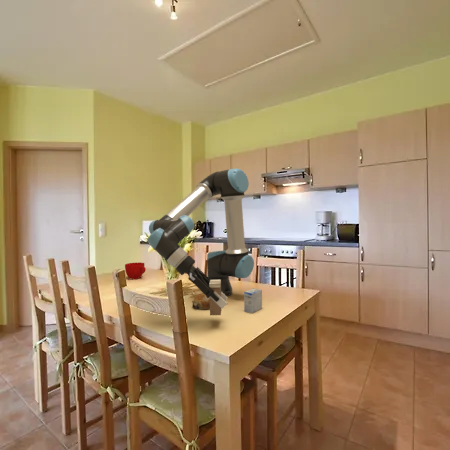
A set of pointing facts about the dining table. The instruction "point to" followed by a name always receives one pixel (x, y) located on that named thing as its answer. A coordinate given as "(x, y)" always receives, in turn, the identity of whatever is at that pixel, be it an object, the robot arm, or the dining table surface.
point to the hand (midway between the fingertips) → (225, 303)
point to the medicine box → (252, 300)
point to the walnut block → (214, 307)
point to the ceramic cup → (134, 270)
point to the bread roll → (201, 302)
